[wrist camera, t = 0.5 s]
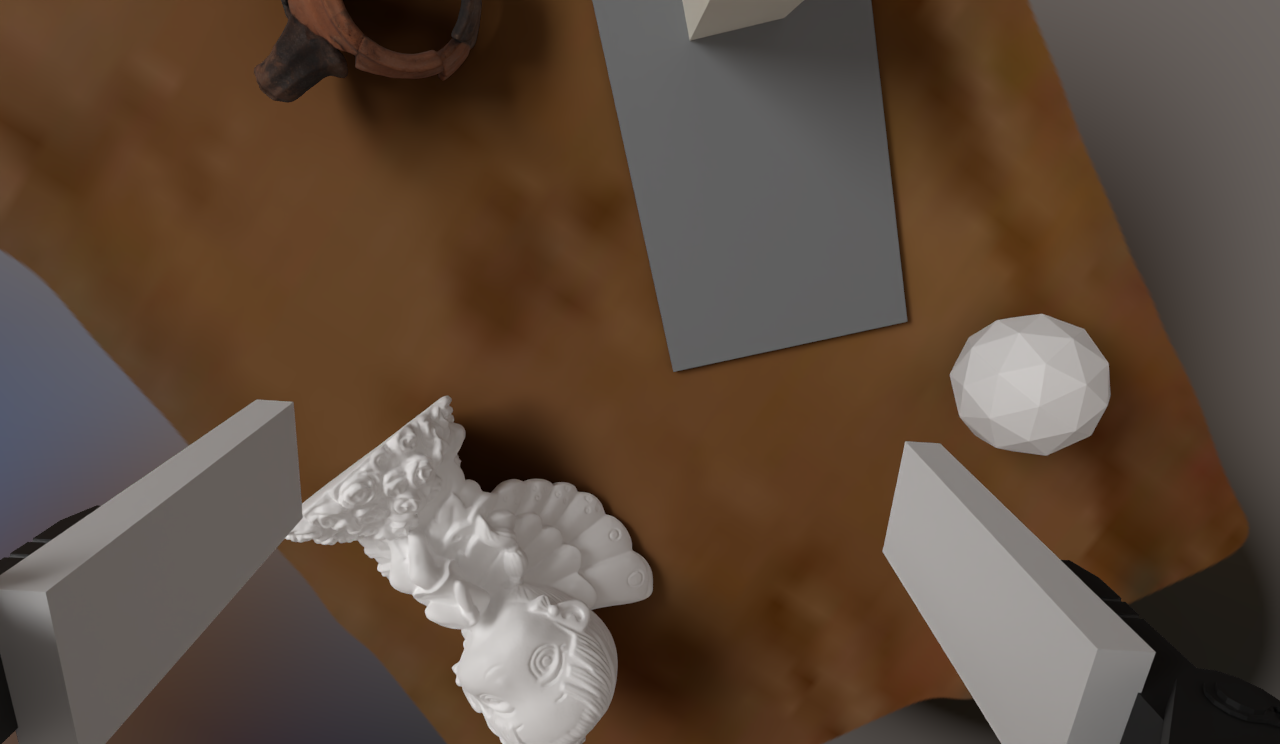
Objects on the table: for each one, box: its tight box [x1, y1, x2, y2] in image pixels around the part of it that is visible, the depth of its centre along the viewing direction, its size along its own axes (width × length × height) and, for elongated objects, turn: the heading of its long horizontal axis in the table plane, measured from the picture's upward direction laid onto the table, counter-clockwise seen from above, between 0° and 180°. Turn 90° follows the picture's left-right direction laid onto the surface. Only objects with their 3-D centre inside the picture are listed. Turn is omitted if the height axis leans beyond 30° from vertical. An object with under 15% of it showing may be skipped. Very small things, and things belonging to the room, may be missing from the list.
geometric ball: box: [950, 314, 1111, 456], centre depth 39 cm, size 8×8×8 cm
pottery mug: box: [254, 0, 482, 102], centre depth 34 cm, size 12×10×8 cm
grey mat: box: [592, 0, 907, 372], centre depth 38 cm, size 24×14×1 cm, turn 13°
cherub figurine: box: [285, 396, 653, 744], centre depth 40 cm, size 13×12×20 cm
